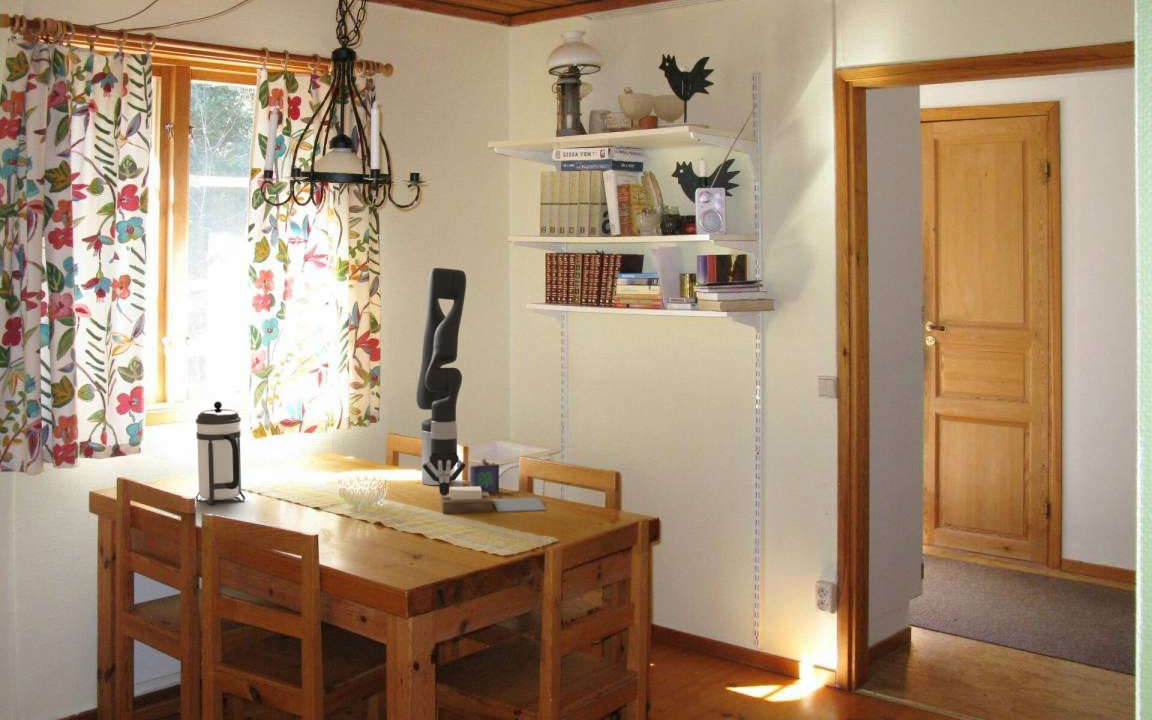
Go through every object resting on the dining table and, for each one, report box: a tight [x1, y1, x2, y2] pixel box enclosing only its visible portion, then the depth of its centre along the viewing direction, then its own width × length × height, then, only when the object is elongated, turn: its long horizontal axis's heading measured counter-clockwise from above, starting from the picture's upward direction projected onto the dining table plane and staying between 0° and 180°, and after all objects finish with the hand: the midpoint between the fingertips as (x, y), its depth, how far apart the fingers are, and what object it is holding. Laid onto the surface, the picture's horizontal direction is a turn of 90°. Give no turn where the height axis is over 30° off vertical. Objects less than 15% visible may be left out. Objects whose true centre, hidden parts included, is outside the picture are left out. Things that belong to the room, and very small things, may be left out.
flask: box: [469, 458, 500, 495], centre depth 341 cm, size 9×3×11 cm, turn 109°
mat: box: [492, 497, 547, 513], centre depth 324 cm, size 16×14×1 cm
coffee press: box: [194, 401, 246, 506], centre depth 327 cm, size 17×16×30 cm
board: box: [440, 491, 493, 514], centre depth 322 cm, size 14×14×3 cm
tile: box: [449, 486, 482, 500], centre depth 321 cm, size 6×9×2 cm, turn 99°
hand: (444, 495), depth 320 cm, fingers closed
